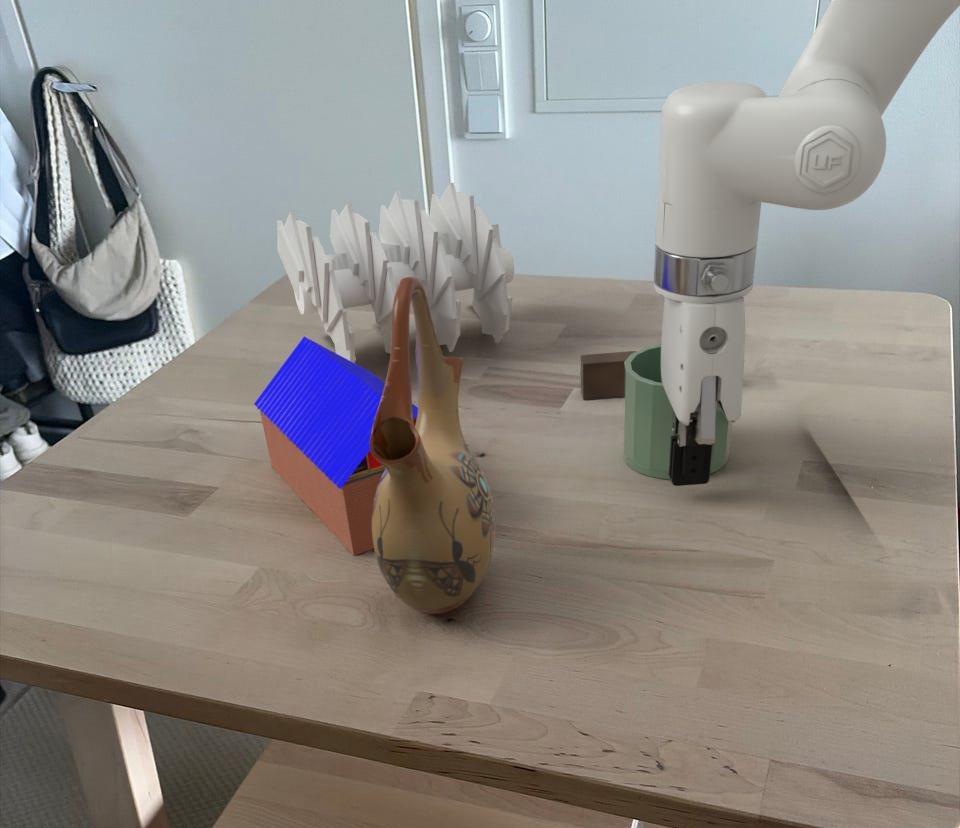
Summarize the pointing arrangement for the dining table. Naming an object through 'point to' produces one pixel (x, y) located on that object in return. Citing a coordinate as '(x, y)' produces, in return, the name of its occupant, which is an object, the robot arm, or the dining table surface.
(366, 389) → the house
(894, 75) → the robot arm
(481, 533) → the ceramic vessel
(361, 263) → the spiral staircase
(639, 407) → the bucket
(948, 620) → the dining table surface
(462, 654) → the dining table surface
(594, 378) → the block
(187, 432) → the dining table surface
